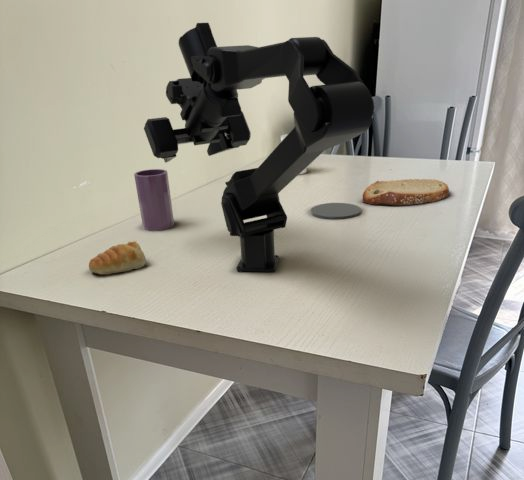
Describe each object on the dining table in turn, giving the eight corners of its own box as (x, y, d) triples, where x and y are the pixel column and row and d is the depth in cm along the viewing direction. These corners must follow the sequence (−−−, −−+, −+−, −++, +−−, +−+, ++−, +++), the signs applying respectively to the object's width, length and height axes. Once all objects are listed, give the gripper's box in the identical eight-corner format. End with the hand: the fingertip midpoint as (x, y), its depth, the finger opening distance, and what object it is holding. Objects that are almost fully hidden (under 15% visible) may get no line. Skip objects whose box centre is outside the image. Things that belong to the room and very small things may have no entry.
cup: (168, 230, 106) (160, 176, 100) (138, 230, 107) (129, 176, 101) (178, 221, 111) (171, 168, 106) (149, 221, 112) (141, 169, 107)
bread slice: (451, 190, 123) (454, 174, 121) (438, 210, 109) (440, 193, 108) (378, 185, 130) (379, 170, 128) (357, 204, 117) (358, 187, 115)
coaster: (361, 219, 107) (361, 216, 106) (308, 219, 108) (308, 216, 108) (360, 204, 116) (360, 202, 116) (312, 205, 118) (312, 202, 117)
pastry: (99, 280, 84) (94, 258, 82) (84, 270, 89) (78, 249, 87) (150, 265, 89) (146, 244, 87) (133, 256, 94) (129, 236, 92)
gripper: (243, 59, 89) (215, 113, 103) (141, 66, 81) (126, 123, 95) (265, 119, 88) (234, 164, 102) (165, 131, 80) (146, 179, 94)
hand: (187, 156), depth 98 cm, fingers open, 9 cm apart
